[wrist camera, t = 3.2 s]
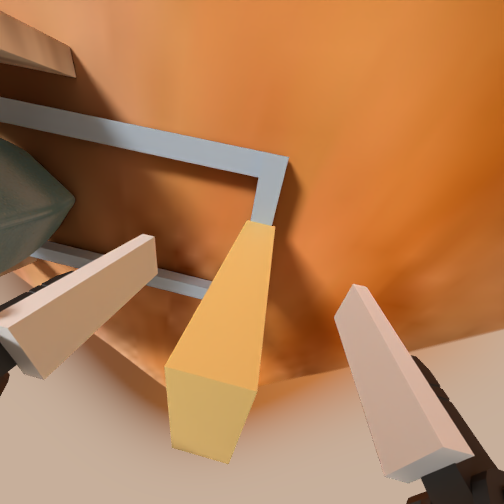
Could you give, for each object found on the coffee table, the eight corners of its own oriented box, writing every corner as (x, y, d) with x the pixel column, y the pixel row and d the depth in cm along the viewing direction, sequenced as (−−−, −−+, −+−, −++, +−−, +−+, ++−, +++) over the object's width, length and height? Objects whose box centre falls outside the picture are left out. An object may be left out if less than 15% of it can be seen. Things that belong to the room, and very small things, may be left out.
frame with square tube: (-83, 79, 13) (-1387, -196, 3) (291, 157, 12) (347, 164, 2) (3, 241, 20) (-307, 335, 9) (254, 303, 19) (217, 491, 8)
